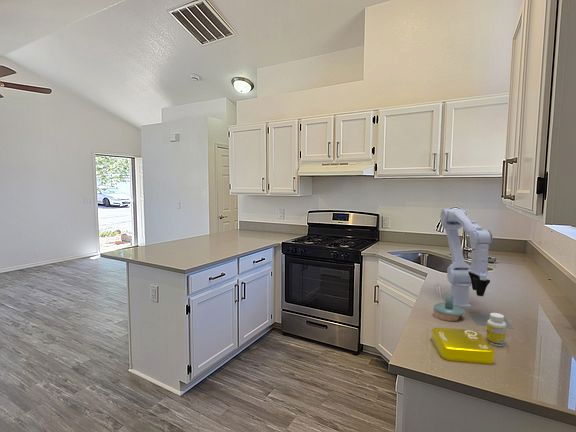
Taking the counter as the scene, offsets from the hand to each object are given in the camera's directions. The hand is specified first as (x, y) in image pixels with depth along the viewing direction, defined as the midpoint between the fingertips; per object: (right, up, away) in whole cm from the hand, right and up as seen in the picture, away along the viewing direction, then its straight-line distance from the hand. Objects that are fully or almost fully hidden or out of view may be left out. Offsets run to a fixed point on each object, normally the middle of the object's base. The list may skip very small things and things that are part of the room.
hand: (477, 292), depth 130 cm
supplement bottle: (-7, -12, -21) cm, 25 cm away
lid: (-12, -7, -1) cm, 14 cm away
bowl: (-13, -10, 0) cm, 16 cm away
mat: (+2, -10, -4) cm, 11 cm away
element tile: (-21, -13, -26) cm, 35 cm away
